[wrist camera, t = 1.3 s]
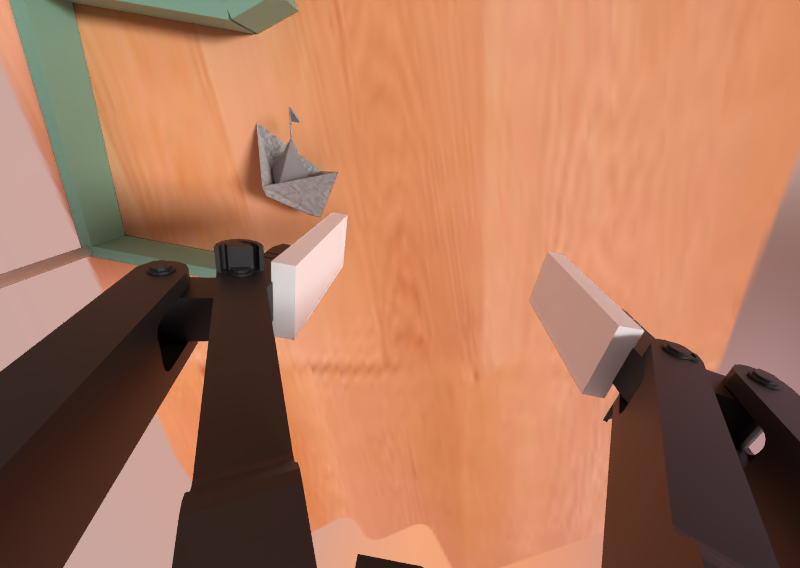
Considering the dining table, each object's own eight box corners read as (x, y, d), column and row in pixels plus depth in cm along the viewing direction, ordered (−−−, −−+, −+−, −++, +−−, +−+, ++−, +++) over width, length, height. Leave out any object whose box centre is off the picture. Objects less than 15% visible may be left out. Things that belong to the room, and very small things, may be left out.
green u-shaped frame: (298, -5, 26) (-122, -434, 6) (294, 290, 38) (143, 464, 18) (47, -49, 26) (-1118, -592, 7) (120, 258, 38) (-215, 395, 18)
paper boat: (232, 192, 32) (211, 88, 26) (287, 178, 36) (280, 85, 30) (306, 250, 28) (302, 138, 21) (361, 226, 32) (371, 127, 25)
